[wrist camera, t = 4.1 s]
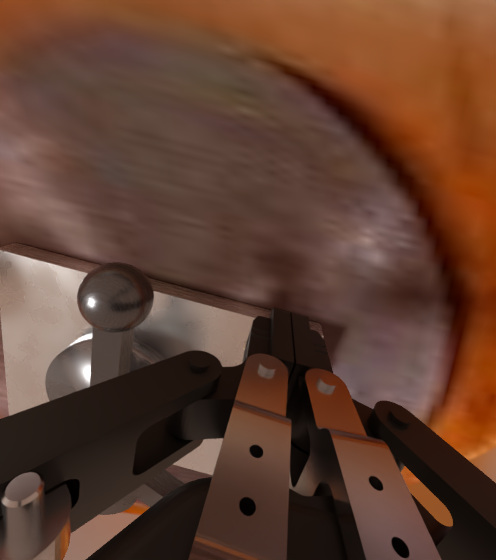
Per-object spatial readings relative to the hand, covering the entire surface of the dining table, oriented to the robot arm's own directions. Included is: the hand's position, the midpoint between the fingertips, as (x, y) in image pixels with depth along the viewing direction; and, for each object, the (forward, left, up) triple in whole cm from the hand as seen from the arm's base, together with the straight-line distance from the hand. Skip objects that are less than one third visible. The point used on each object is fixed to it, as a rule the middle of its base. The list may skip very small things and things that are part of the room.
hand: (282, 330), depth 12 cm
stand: (+7, +9, -6) cm, 13 cm away
